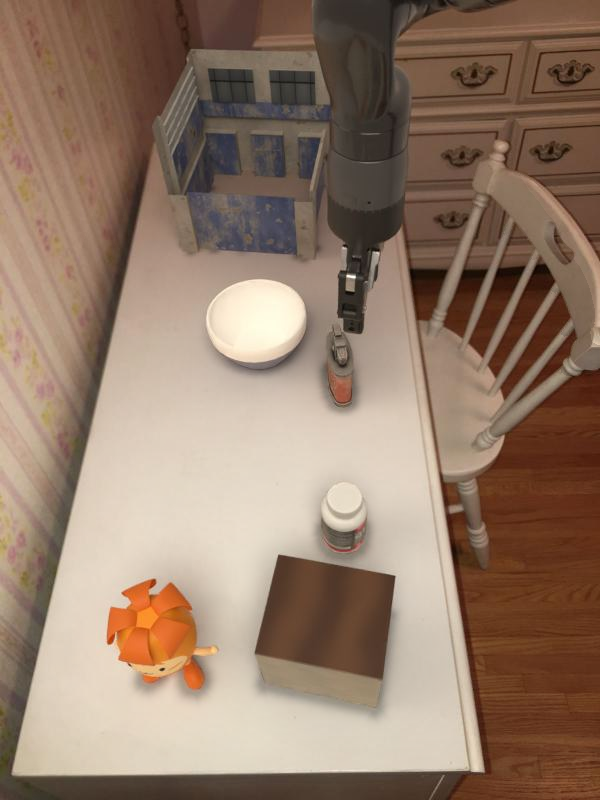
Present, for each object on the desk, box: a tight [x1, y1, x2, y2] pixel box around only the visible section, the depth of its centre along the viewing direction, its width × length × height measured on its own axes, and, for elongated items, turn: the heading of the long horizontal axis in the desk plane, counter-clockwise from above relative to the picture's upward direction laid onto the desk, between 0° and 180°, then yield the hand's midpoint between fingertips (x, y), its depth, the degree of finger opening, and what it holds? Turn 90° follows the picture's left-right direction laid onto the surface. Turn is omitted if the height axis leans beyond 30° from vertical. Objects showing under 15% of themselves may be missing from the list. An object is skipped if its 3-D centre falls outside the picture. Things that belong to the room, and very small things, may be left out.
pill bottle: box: [320, 481, 368, 555], centre depth 76 cm, size 5×5×10 cm
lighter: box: [325, 322, 354, 409], centre depth 89 cm, size 8×3×10 cm, turn 8°
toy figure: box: [106, 578, 219, 691], centre depth 66 cm, size 12×8×15 cm, turn 81°
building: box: [151, 48, 330, 261], centre depth 108 cm, size 23×24×23 cm
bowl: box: [205, 278, 308, 370], centre depth 95 cm, size 14×14×8 cm
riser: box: [254, 553, 397, 708], centre depth 67 cm, size 12×10×12 cm
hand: (360, 304), depth 74 cm, fingers open, 8 cm apart
